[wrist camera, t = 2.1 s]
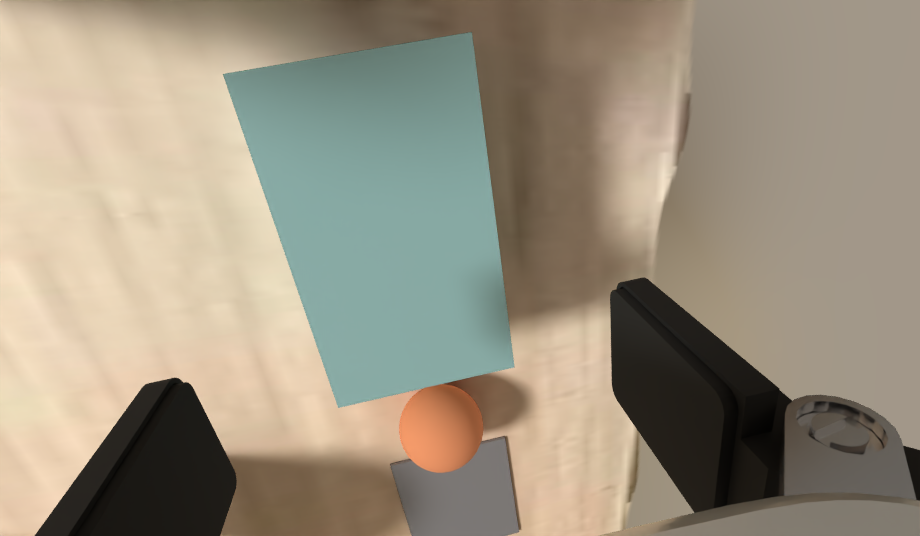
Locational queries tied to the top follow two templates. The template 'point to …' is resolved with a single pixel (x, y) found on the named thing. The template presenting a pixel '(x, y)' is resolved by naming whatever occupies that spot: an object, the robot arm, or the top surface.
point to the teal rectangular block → (384, 211)
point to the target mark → (460, 495)
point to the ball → (441, 428)
